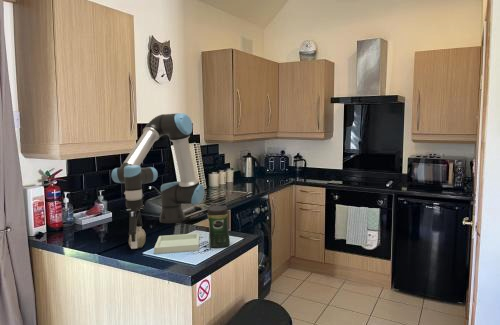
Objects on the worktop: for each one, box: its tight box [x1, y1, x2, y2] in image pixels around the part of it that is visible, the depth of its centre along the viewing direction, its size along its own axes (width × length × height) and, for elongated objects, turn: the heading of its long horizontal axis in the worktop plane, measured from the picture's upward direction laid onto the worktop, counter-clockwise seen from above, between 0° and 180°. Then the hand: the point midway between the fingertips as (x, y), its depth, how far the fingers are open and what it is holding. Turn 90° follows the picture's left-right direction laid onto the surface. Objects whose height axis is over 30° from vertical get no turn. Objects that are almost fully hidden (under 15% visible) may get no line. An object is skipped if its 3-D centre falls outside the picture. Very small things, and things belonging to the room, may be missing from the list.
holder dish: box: [153, 232, 200, 255], centre depth 179 cm, size 19×19×3 cm
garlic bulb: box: [128, 228, 147, 250], centre depth 179 cm, size 9×8×10 cm
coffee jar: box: [206, 205, 231, 248], centre depth 177 cm, size 10×8×19 cm
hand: (136, 244), depth 179 cm, fingers open, 13 cm apart
